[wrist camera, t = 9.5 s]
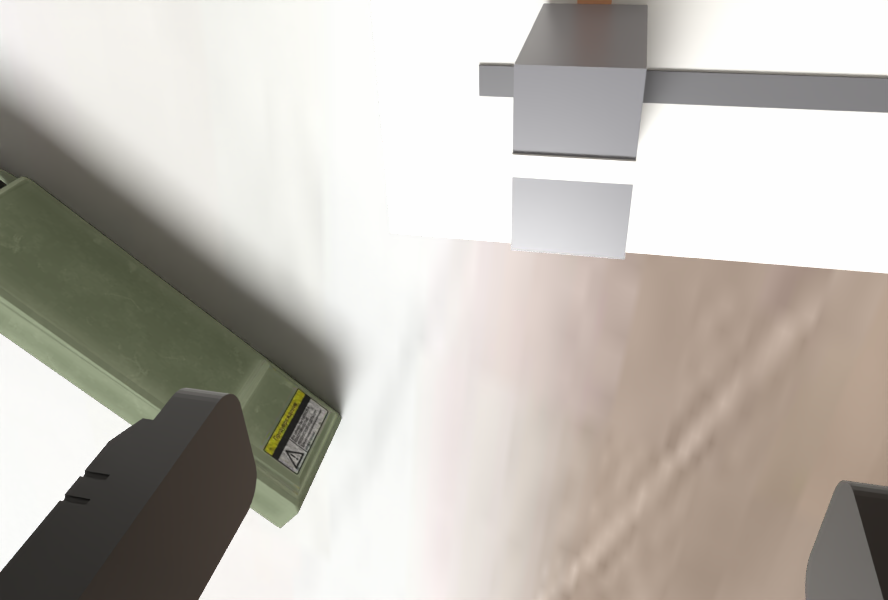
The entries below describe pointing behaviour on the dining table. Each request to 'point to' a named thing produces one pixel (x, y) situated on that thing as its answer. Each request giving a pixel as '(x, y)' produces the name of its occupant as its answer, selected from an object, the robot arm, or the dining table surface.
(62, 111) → the dining table surface
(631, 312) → the dining table surface
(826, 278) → the dining table surface
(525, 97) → the block
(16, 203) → the handheld radio
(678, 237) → the console
